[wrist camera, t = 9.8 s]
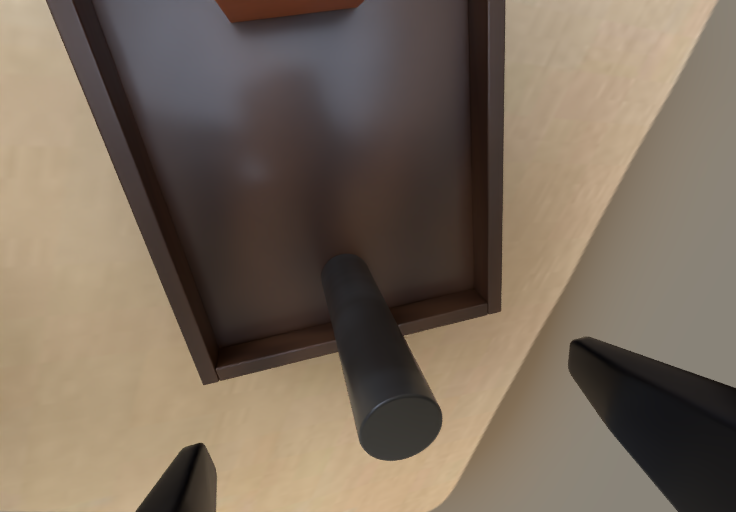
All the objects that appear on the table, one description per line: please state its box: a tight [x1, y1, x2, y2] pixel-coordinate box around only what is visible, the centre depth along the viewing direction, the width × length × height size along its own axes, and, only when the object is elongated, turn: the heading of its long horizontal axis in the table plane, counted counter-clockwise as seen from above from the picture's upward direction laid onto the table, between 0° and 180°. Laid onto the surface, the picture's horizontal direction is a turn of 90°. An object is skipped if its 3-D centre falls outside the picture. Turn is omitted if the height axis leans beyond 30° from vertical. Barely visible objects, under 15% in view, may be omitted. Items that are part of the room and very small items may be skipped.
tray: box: [46, 0, 505, 461], centre depth 12 cm, size 14×20×11 cm
